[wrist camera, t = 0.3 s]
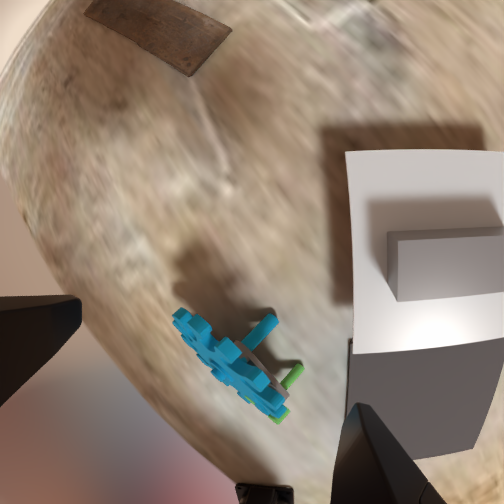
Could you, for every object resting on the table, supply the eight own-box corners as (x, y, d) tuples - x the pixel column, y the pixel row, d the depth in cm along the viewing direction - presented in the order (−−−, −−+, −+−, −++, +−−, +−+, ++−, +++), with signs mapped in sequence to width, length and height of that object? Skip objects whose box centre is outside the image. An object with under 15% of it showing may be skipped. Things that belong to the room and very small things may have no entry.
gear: (154, 318, 24) (186, 327, 15) (207, 271, 26) (267, 253, 17) (240, 410, 25) (307, 450, 16) (283, 363, 28) (361, 382, 19)
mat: (472, 446, 21) (473, 448, 20) (341, 462, 24) (341, 465, 24) (509, 324, 18) (511, 326, 18) (350, 341, 22) (350, 344, 21)
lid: (509, 331, 16) (532, 355, 12) (352, 349, 19) (354, 381, 15) (518, 154, 14) (549, 150, 10) (344, 152, 17) (348, 144, 13)
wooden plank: (230, 25, 18) (185, 74, 20) (234, 33, 20) (192, 80, 21) (112, -22, 19) (80, 14, 21) (118, -17, 21) (88, 19, 22)
